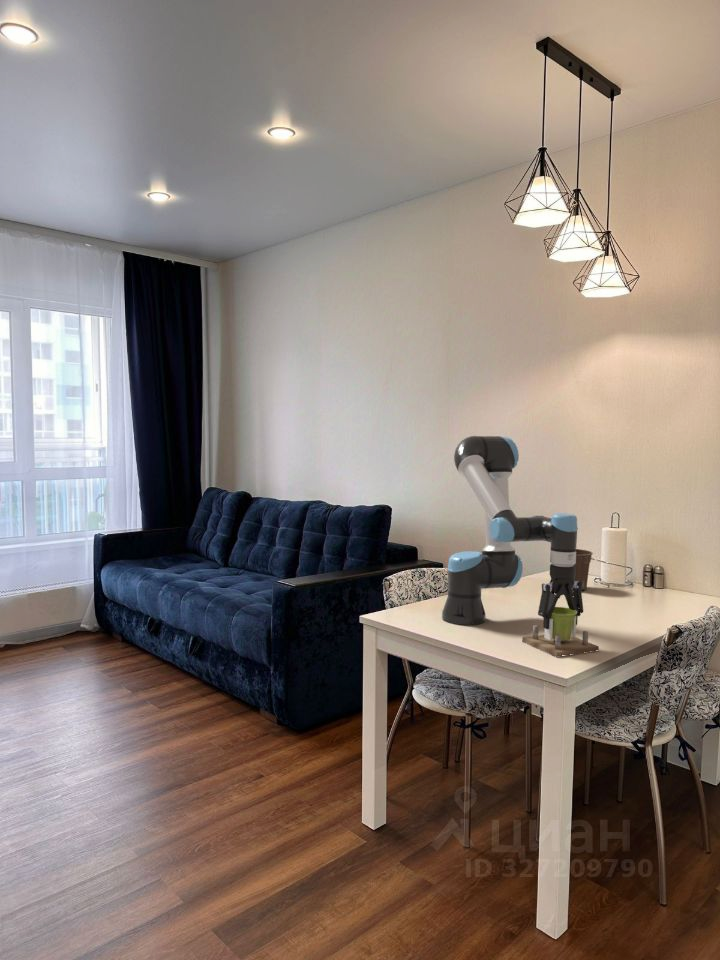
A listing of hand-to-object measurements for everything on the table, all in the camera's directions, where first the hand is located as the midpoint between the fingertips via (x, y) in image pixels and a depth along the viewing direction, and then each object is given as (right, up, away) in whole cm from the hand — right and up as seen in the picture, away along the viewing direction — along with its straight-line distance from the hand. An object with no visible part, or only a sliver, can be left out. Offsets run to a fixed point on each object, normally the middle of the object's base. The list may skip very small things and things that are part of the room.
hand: (559, 637), depth 207 cm
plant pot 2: (+30, +1, +83) cm, 88 cm away
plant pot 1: (0, -1, 0) cm, 1 cm away
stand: (0, -3, 0) cm, 3 cm away
